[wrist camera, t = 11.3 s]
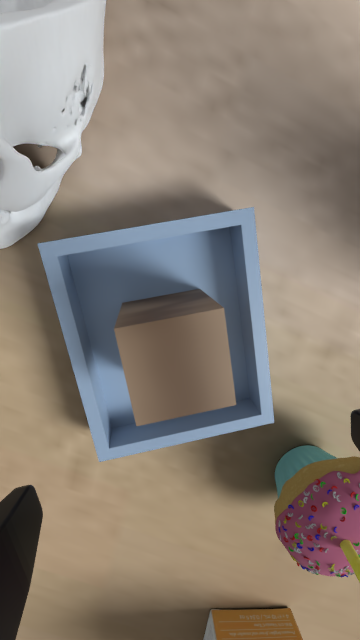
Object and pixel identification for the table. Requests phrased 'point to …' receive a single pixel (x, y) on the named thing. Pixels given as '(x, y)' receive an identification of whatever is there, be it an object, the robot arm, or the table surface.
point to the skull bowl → (44, 99)
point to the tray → (151, 281)
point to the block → (175, 356)
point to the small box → (252, 625)
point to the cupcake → (319, 510)
